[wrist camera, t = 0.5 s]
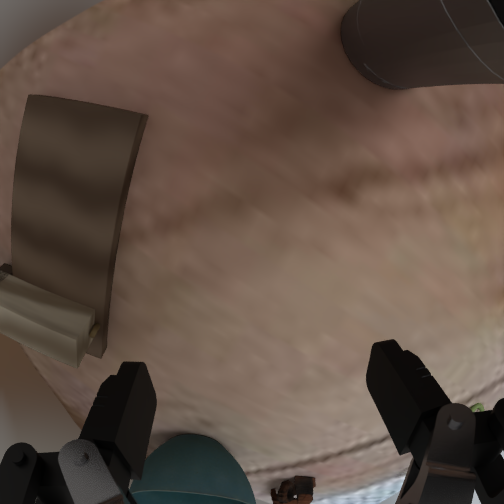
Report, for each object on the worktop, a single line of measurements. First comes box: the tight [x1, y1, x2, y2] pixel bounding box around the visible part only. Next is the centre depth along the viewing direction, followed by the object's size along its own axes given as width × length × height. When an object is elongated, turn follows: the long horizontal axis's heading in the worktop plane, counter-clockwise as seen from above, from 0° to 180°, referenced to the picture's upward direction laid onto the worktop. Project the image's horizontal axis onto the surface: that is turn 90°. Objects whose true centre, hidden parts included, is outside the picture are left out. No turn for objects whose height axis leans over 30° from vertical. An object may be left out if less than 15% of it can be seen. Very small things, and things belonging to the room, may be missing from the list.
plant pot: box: [130, 434, 256, 504], centre depth 36 cm, size 18×18×12 cm
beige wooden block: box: [0, 263, 100, 369], centre depth 25 cm, size 4×14×6 cm, turn 71°
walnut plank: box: [11, 95, 148, 359], centre depth 25 cm, size 26×12×2 cm, turn 161°
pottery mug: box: [271, 476, 316, 504], centre depth 47 cm, size 12×10×8 cm
